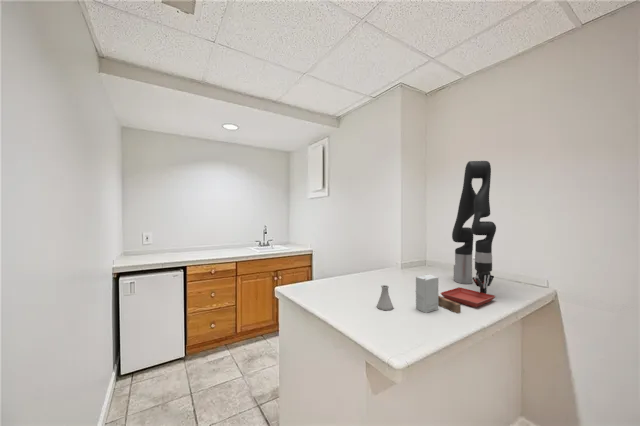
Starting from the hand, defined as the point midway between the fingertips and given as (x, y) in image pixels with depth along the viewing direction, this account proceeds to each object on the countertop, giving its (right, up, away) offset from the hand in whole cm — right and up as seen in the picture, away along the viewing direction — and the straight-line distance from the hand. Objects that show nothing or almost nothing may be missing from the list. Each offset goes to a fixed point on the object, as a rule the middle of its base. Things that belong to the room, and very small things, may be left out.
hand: (483, 294), depth 136 cm
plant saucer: (-10, -2, -4) cm, 11 cm away
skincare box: (-35, -2, -16) cm, 38 cm away
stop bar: (-27, -1, -11) cm, 29 cm away
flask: (-53, -2, -14) cm, 55 cm away
